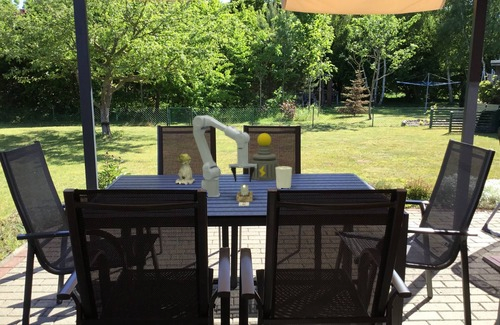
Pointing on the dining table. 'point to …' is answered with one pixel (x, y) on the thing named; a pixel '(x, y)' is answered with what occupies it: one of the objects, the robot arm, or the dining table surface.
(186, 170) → the cream figurine
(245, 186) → the pin
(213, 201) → the dining table surface
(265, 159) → the decorative lamp
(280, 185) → the candle holder
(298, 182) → the dining table surface
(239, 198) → the tan frame
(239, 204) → the key card
